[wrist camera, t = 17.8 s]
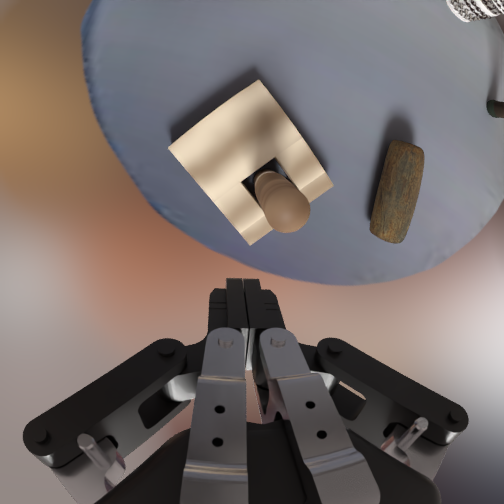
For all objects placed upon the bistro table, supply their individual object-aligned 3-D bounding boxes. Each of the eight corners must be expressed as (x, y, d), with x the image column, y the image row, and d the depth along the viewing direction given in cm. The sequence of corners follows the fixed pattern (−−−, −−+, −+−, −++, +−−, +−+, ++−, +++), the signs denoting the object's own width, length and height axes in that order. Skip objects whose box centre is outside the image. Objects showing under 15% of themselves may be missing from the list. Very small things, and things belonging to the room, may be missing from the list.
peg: (245, 178, 38) (256, 207, 25) (269, 160, 37) (294, 179, 24) (262, 201, 39) (282, 241, 27) (287, 184, 38) (318, 215, 26)
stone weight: (394, 232, 43) (415, 248, 37) (360, 228, 42) (379, 245, 36) (412, 146, 37) (438, 152, 31) (377, 135, 36) (402, 139, 30)
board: (172, 146, 35) (167, 147, 32) (256, 83, 32) (258, 79, 29) (248, 237, 41) (250, 245, 39) (326, 181, 39) (333, 185, 36)
